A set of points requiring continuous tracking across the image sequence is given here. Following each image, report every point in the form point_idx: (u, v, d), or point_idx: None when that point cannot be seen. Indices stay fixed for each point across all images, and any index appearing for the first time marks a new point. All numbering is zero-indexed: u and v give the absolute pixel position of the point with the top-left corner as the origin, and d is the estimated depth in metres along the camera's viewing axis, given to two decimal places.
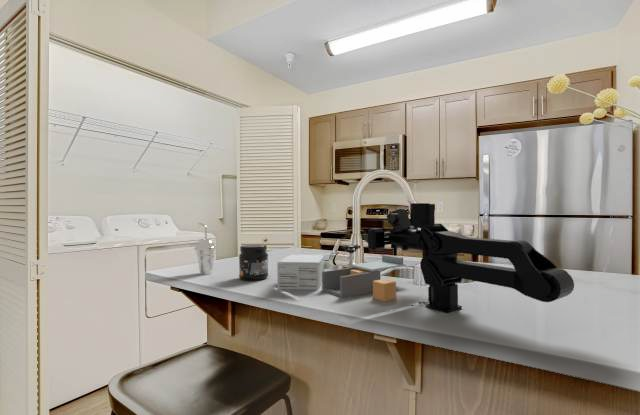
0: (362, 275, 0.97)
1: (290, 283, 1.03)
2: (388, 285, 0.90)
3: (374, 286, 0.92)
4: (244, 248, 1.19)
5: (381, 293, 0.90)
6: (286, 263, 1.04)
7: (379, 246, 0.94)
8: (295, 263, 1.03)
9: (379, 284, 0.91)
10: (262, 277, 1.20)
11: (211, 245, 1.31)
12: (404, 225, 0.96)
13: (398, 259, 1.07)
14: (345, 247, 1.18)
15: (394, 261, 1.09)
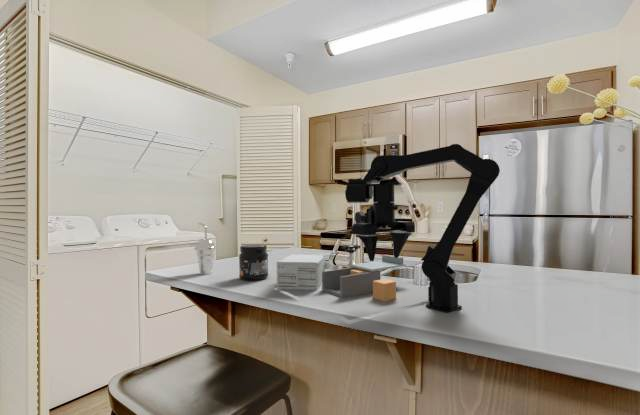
0: (362, 275, 0.97)
1: (290, 283, 1.03)
2: (388, 285, 0.90)
3: (374, 286, 0.92)
4: (244, 248, 1.19)
5: (381, 293, 0.90)
6: (285, 263, 1.04)
7: (367, 224, 0.86)
8: (294, 263, 1.03)
9: (379, 284, 0.91)
10: (262, 277, 1.20)
11: (211, 245, 1.31)
12: None
13: (398, 259, 1.07)
14: (345, 247, 1.18)
15: (394, 261, 1.09)
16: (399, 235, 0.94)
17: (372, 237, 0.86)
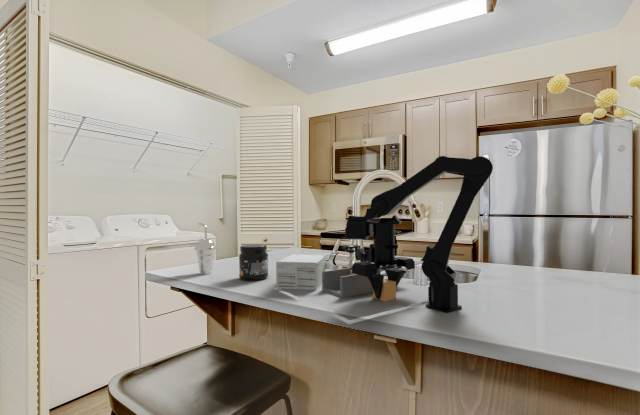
0: None
1: (289, 283, 1.03)
2: (388, 285, 0.90)
3: None
4: (244, 248, 1.19)
5: (381, 293, 0.90)
6: (285, 263, 1.04)
7: (368, 264, 0.86)
8: (294, 263, 1.03)
9: None
10: (262, 277, 1.20)
11: (211, 245, 1.31)
12: None
13: None
14: (345, 247, 1.18)
15: None
16: (394, 273, 0.93)
17: (379, 277, 0.87)
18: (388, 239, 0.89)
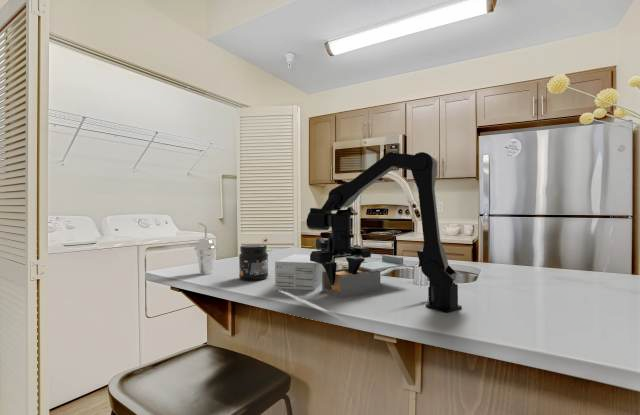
0: (362, 275, 0.97)
1: (287, 283, 1.04)
2: None
3: None
4: (244, 248, 1.19)
5: (337, 284, 0.97)
6: (283, 263, 1.04)
7: (323, 252, 0.93)
8: (292, 263, 1.03)
9: (336, 276, 0.97)
10: (262, 277, 1.20)
11: (211, 245, 1.31)
12: None
13: (398, 259, 1.07)
14: None
15: (394, 261, 1.09)
16: (353, 261, 1.00)
17: (331, 264, 0.93)
18: (343, 229, 0.96)
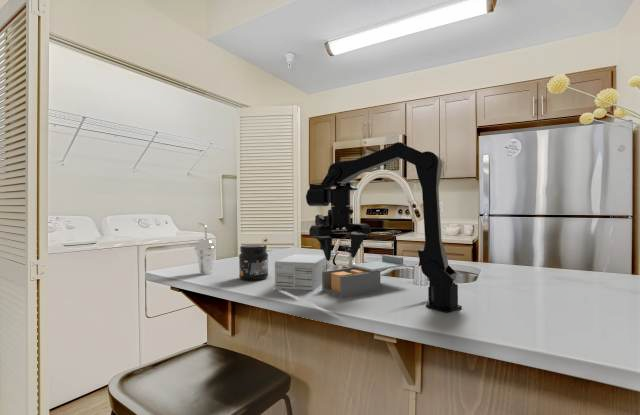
0: (362, 275, 0.97)
1: (287, 283, 1.04)
2: None
3: (332, 278, 0.99)
4: (244, 248, 1.19)
5: (337, 284, 0.97)
6: (283, 263, 1.04)
7: (323, 226, 0.93)
8: (291, 263, 1.04)
9: (336, 276, 0.97)
10: (262, 277, 1.20)
11: (211, 245, 1.31)
12: None
13: (398, 259, 1.07)
14: (345, 247, 1.18)
15: (394, 261, 1.09)
16: (356, 236, 1.01)
17: (327, 238, 0.93)
18: (343, 204, 0.96)
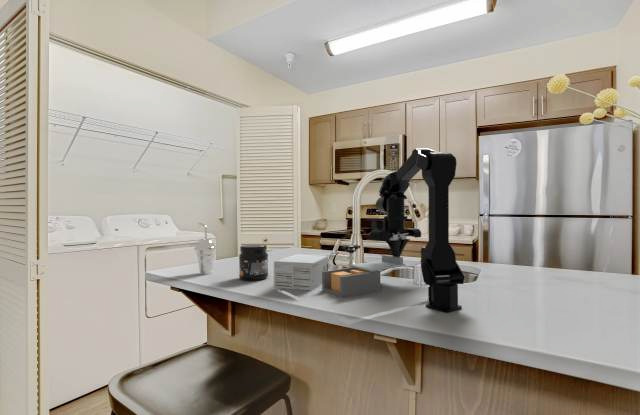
0: (362, 275, 0.97)
1: (286, 283, 1.04)
2: None
3: (332, 278, 0.99)
4: (244, 248, 1.19)
5: (337, 284, 0.97)
6: (282, 262, 1.05)
7: (383, 231, 1.06)
8: (290, 263, 1.04)
9: (336, 276, 0.97)
10: (262, 277, 1.20)
11: (211, 245, 1.31)
12: None
13: (398, 259, 1.07)
14: (345, 247, 1.18)
15: (394, 261, 1.08)
16: None
17: (397, 241, 1.08)
18: (391, 211, 1.09)
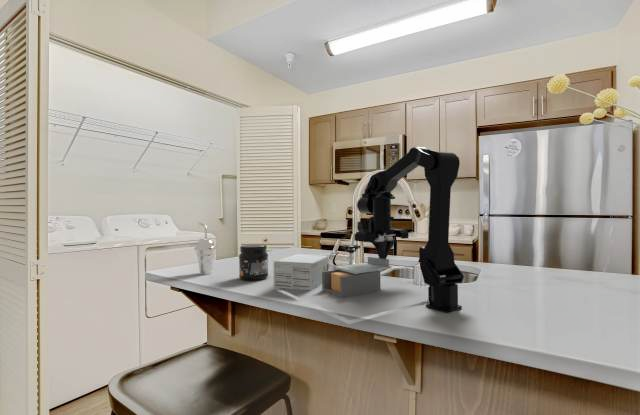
0: (362, 275, 0.97)
1: (285, 283, 1.04)
2: None
3: (332, 278, 0.99)
4: (244, 248, 1.19)
5: (337, 284, 0.97)
6: (281, 262, 1.05)
7: (368, 232, 1.02)
8: (290, 263, 1.04)
9: (336, 276, 0.97)
10: (262, 277, 1.20)
11: (211, 245, 1.31)
12: None
13: (384, 261, 1.04)
14: (345, 247, 1.18)
15: (380, 263, 1.05)
16: None
17: (382, 242, 1.04)
18: (379, 212, 1.05)
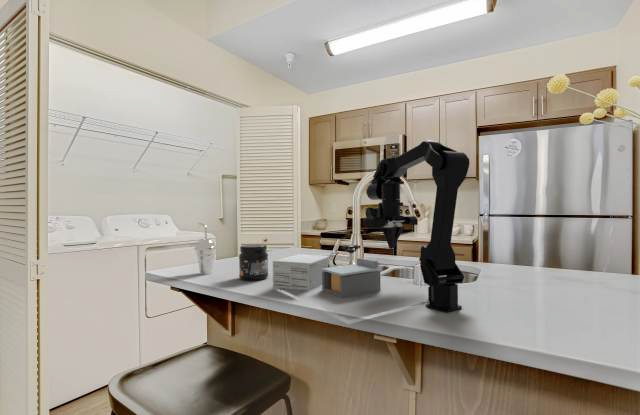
0: (362, 275, 0.97)
1: (284, 282, 1.05)
2: None
3: (332, 278, 0.99)
4: (244, 248, 1.19)
5: (337, 284, 0.97)
6: (280, 262, 1.05)
7: (377, 217, 1.00)
8: (288, 263, 1.04)
9: (336, 276, 0.97)
10: (262, 277, 1.20)
11: (211, 245, 1.31)
12: None
13: (372, 263, 1.01)
14: (345, 247, 1.18)
15: (369, 264, 1.02)
16: None
17: (392, 228, 1.02)
18: (388, 197, 1.04)
